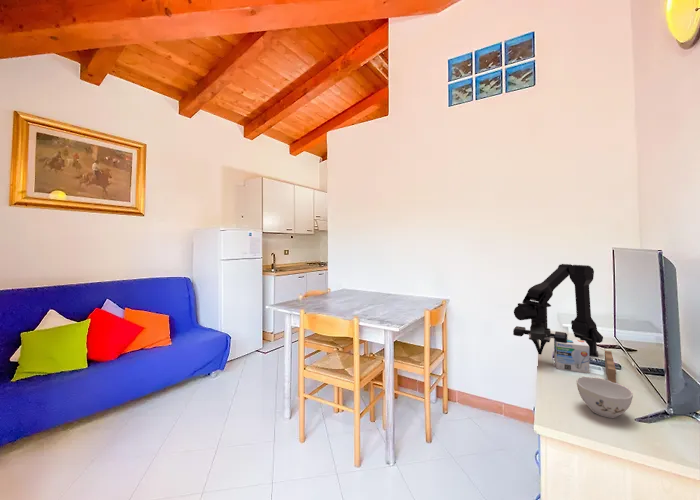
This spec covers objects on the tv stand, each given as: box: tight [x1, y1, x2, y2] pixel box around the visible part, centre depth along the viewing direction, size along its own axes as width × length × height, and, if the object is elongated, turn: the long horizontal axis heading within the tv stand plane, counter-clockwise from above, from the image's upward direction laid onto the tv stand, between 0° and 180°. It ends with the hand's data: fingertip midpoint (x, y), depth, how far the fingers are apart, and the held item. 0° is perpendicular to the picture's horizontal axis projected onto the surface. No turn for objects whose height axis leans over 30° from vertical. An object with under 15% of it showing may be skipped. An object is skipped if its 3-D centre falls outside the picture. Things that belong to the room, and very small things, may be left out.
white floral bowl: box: [576, 376, 634, 419], centre depth 86 cm, size 15×12×8 cm
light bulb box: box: [553, 338, 590, 374], centre depth 114 cm, size 11×7×11 cm, turn 62°
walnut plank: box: [604, 350, 617, 383], centre depth 107 cm, size 20×2×6 cm, turn 141°
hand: (540, 354), depth 121 cm, fingers closed
